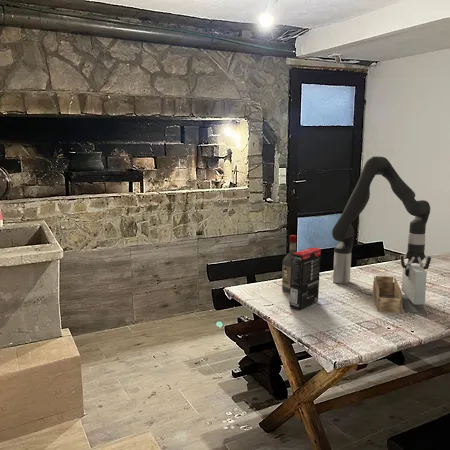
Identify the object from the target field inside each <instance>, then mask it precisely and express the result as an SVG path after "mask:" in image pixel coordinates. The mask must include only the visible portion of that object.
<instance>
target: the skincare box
mask: <svg viewBox="0 0 450 450" xmlns="http://www.w3.org/2000/svg"><path fill="white" fill-rule="evenodd" d="M407 262H408V260H404V264H405V265H406V264H407ZM427 273H428V271H426V269H425V270H424V269H422V268H421V267H420V265H419V264H417V263H412V264H411V265H410V267H409V276H408V277H407V276H406V275H405V268H403V267H402V274H401V275H402V277H401V279H402V280H401V292H402V293H403V294H405V295H406V296H407V297H408V298H409V299H410V300H411V301H412V303H413V304H423V305H426V290H427V289H426V288H427Z"/></svg>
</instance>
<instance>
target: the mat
mask: <svg viewBox="0 0 450 450" xmlns="http://www.w3.org/2000/svg"><path fill="white" fill-rule="evenodd" d="M402 307H403V309H404V311H405V313H406V314H419V315H428V312H427V310H426V307H424V304H413V303H412V301H411V300H410V299H409V298H408V297H407V296H406V295H405V294H404V293H402Z"/></svg>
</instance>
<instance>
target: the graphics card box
mask: <svg viewBox="0 0 450 450" xmlns="http://www.w3.org/2000/svg"><path fill="white" fill-rule="evenodd" d="M321 252H322V248H319V247H309V248H305V249H302V250H298V251H296V252H295V253H292V259H291V280H290V293H289V302H288V303H289V305H288V307H289V308H291V309H292V308H293V309H294V310H295V309H296V310H299V311H301V310H303V309H305V308H307V307H309V306H312V305H313V304H316V303H317V302H319V292H320V274H321V254H322V253H321Z"/></svg>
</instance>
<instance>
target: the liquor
mask: <svg viewBox="0 0 450 450" xmlns="http://www.w3.org/2000/svg"><path fill="white" fill-rule="evenodd" d="M288 240H289V250H288V254H286V255H285V256H284V258H283V260H282V267H281V268H282V271H281V272H282V275H281V276H282V278H281V290H282V292H285V293H287V294H290V280H291V259H292V253H295V252H297V235H295V234H290V235H289V239H288Z"/></svg>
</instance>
